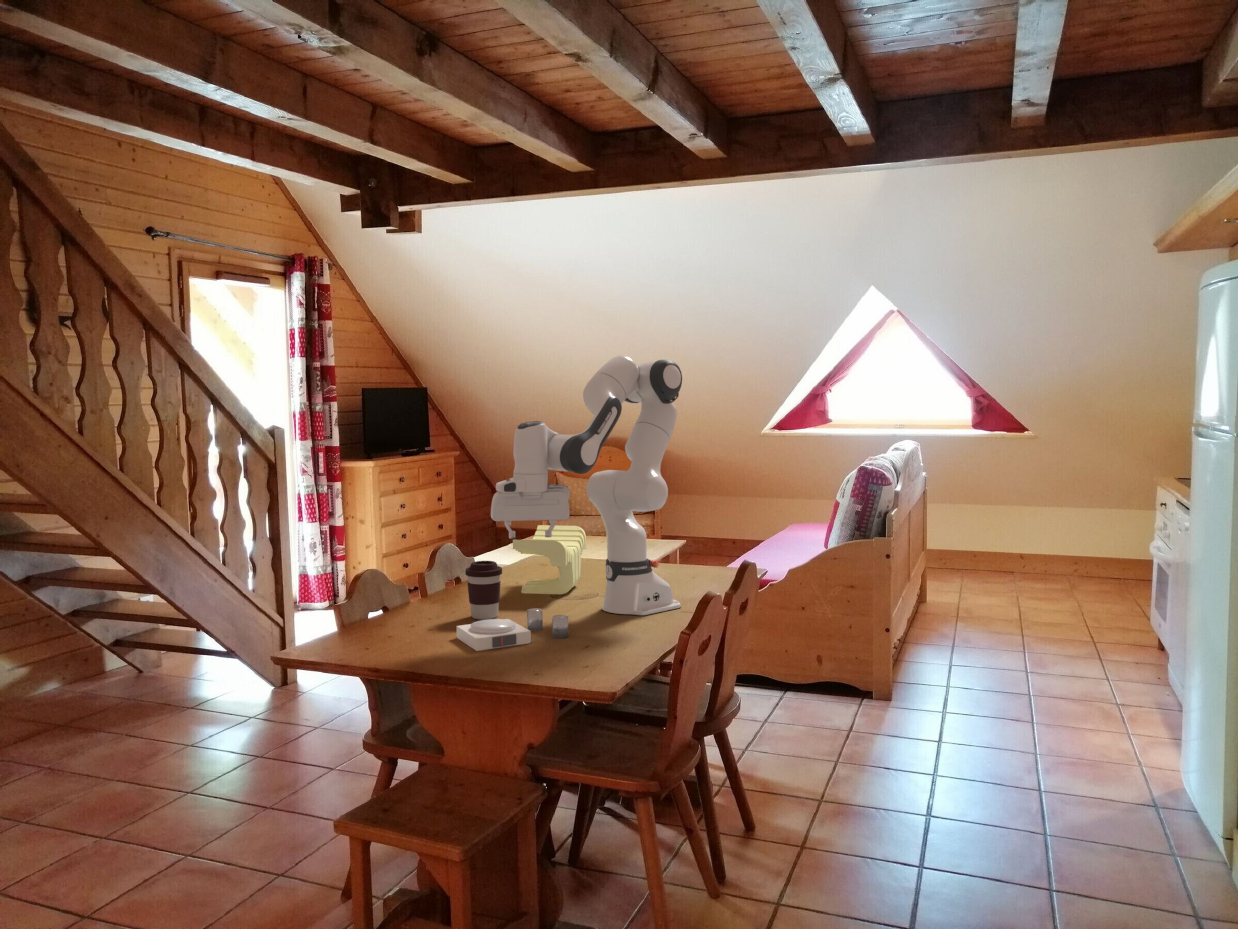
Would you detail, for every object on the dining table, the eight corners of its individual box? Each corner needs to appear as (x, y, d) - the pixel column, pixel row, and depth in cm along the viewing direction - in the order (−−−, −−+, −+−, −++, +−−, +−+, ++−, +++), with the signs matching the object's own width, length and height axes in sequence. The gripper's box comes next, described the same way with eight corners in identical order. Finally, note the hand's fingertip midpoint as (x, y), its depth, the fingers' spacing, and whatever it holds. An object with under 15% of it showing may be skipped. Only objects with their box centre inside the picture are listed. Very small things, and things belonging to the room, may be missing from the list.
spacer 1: (538, 626, 248) (538, 607, 247) (545, 629, 244) (545, 610, 244) (524, 628, 246) (524, 609, 245) (531, 631, 242) (530, 612, 242)
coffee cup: (468, 622, 252) (467, 567, 251) (464, 614, 262) (463, 560, 261) (505, 619, 255) (504, 564, 254) (500, 611, 264) (499, 558, 263)
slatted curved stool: (566, 600, 277) (565, 540, 276) (513, 599, 280) (512, 539, 279) (586, 580, 307) (586, 525, 305) (538, 579, 310) (538, 525, 308)
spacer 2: (564, 633, 240) (563, 614, 240) (571, 637, 237) (570, 617, 236) (549, 635, 238) (549, 616, 238) (556, 639, 235) (556, 619, 234)
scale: (508, 630, 244) (508, 615, 243) (531, 643, 231) (531, 627, 231) (456, 637, 237) (456, 622, 236) (477, 651, 224) (477, 635, 224)
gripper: (567, 482, 250) (566, 535, 250) (489, 483, 244) (489, 537, 245) (572, 484, 243) (572, 538, 244) (493, 485, 238) (493, 540, 239)
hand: (530, 537), depth 244 cm, fingers open, 8 cm apart
